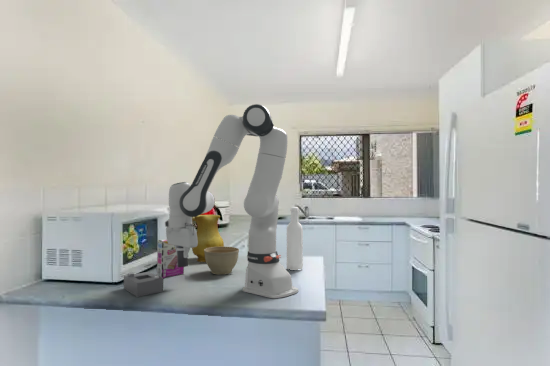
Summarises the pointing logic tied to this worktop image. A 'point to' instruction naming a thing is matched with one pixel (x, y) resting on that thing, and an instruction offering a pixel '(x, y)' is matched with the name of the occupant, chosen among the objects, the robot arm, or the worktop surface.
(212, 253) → the planter bowl
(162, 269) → the candy bar box
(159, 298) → the worktop surface
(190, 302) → the worktop surface
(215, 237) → the pitcher
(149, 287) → the block
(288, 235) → the bottle
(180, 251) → the lens
